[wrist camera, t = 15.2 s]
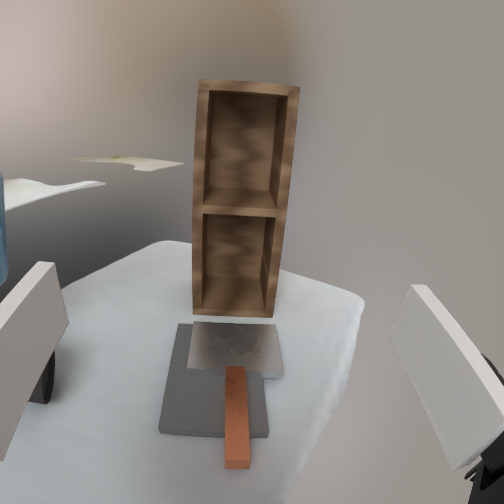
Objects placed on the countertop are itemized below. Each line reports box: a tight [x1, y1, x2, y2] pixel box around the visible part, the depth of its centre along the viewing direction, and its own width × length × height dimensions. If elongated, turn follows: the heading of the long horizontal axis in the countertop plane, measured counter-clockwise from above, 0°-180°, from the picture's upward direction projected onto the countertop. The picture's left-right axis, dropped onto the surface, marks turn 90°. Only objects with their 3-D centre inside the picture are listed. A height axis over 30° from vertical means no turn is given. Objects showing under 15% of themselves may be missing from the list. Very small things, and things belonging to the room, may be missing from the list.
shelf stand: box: [192, 79, 300, 318], centre depth 41 cm, size 11×10×30 cm
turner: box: [187, 321, 283, 469], centre depth 30 cm, size 10×19×2 cm, turn 3°
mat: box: [159, 323, 269, 438], centre depth 32 cm, size 10×16×1 cm, turn 3°
